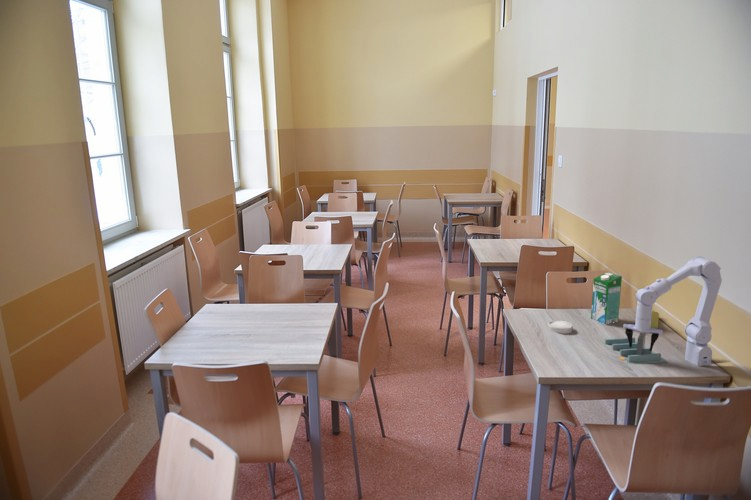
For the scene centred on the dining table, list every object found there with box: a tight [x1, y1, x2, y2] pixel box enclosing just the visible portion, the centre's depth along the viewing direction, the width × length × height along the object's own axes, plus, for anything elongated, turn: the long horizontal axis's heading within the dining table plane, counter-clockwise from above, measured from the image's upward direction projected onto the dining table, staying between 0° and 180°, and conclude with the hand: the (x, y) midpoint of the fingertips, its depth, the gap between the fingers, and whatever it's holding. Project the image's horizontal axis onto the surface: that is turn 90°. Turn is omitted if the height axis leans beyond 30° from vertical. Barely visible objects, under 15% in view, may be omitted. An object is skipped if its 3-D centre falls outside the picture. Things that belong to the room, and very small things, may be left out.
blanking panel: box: [636, 332, 647, 355], centre depth 220 cm, size 2×8×7 cm, turn 146°
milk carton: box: [590, 272, 623, 325], centre depth 261 cm, size 9×9×25 cm
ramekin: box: [547, 320, 574, 334], centre depth 249 cm, size 11×11×5 cm
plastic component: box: [650, 310, 660, 329], centre depth 262 cm, size 20×7×10 cm, turn 168°
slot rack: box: [604, 336, 667, 364], centre depth 226 cm, size 21×18×3 cm
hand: (640, 348), depth 220 cm, fingers open, 7 cm apart
